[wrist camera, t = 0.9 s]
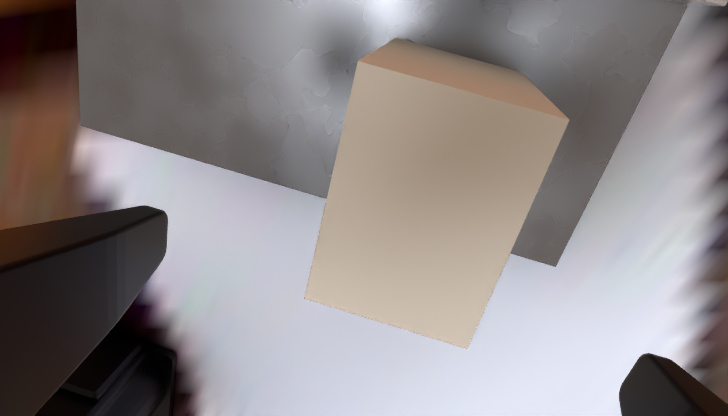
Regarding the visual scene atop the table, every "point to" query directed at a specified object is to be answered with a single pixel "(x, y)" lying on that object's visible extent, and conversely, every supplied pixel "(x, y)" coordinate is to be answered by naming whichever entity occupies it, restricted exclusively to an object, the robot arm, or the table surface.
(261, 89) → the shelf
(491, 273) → the tea box
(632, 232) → the table surface
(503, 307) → the table surface
